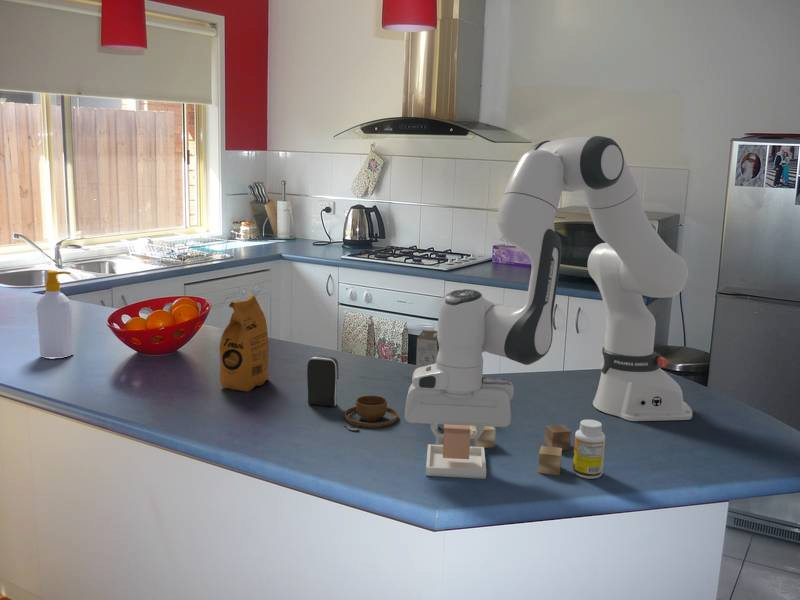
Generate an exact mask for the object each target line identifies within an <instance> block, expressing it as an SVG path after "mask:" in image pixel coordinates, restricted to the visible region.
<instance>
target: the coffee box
mask: <svg viewBox="0 0 800 600" xmlns="http://www.w3.org/2000/svg"><path fill="white" fill-rule="evenodd" d="M437 331H438V330H424V329H423V330H422V331H421V333H420V334H418V336H417V338H416V356H415V358H416V360H415V369H417V368H420V367H423V366H427V365H431V364H435V363H436V359H437V355H438V352H439V343H438V339H437Z"/></svg>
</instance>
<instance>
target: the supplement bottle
mask: <svg viewBox="0 0 800 600" xmlns="http://www.w3.org/2000/svg"><path fill="white" fill-rule="evenodd" d="M579 422H580V425H579V429H577V430H576V431H575V435H574V447H573V460H572V461H573V463H572V471H573V473H574V474H575V475H576V476H578V477H580V478H583V479H589V480H590V479H592V480H593V479H599V478H600V477H602V475H603V472H604V470H603V469H604V460H605V459H604V458H605V448H606V447H605V446H606V435H605V433H604V432H603V431H602V430H603V428H602V427H603V424H602V422H600V421H598V420H595V419H582V420H581V421H579Z"/></svg>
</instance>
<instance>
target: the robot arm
mask: <svg viewBox="0 0 800 600" xmlns="http://www.w3.org/2000/svg"><path fill="white" fill-rule="evenodd" d="M635 182H636V181H635V179H634V176H633V174H632V172H631V169H630V167H629V166H628V164H627V162H626V160H625V158H624V153H623V150H622V149H621V147H620V146H619V144H618V143H617V142H616V141H615V140H614V139H612V138H611V137H606V136H601V135H595V136H570V137H565V138H559V139H554V140H544V141H540V142H538V143H536V144H535V145H533V146H532V147H530V148H529V150H528V151H526V152H525V153H523V155H522V156H521V157H520V158H519V160H518V161H517V163H516V165H515V167H514V169H513V171H512V173H511V175H510V177H509V180H508V181H507V184H506V187H505V190H504V193H503V195H502V198H501V200H500V204H499V206H498V210H497V216H496V217H497V218H496V222H497V223H496V224H497V227H498V229H499V232H500V233H501V235H502V236H503V237H504V238H505V240H506V241H507V242H508V243H510V244H511V245H512V246H514V247H515V248H516V249H518V250H519V251H522V252H523V253H524V254H526V255H527V257H528V258H529V260H530V263H531V264H530V265H531V270H530V271H531V272H530V277H529V284H528V288H527V295H526V302H525V305H524V306H523V307H522V308H517V307H511V306H507V305H504V304H503V305H502V304H500V303H494V302H493V301H490V300H488V299H486V298H484V295H483V294H482V293H481V292H480V291H478V290H474V289H465V288H464V289H457V290H453V291H450V292H448V293H446V294H445V295H444V296H443V298H442V300H441V304H440V308H439V311H438V321H437V330H436V331H437V339H438V343H439V352H438V355H437V359H436V363H435V364H431V365H427V366H423V367H420V368H417V369H416V368H415V369H414V370H413V372H412V378H411V380H412V381H411V382H412V383H411V384H410V386H409V387H408V392H407V396H406V400H405V401H406V402H405V408H404V419H405V420H406V421H407V422H408V423H413V424H414V423H415V424H416V423H417V424H429V425H430V430H431V432H432V434H433V435H434V437H435V445H443V437H444V433H440V432H439V430H438V428H439V425H444V424H450V425H471V426H476V430H477V431H476V432H475V434H474V435H470V447H477V439H478V438H479V437H480V435H481V434H482V433H483V430H484V426H491V427H494V428H496V427H497V428H507V427H508V426H509V425H510V424H511V421H512V412H511V411H512V410H511V400H513V398H514V393H515V388H514V384H513V383H512V382H511V381H510V380H508V379H507V378H504V377H499V378H496V377H495V378H494V377H487V376H485V377H484V357H483V353H488V354H492V355H496V356H499V357H503V358H507V359H509V360H512V361H514V362H517V363H520V364H522V365H525V366H530V365H533V364H534V363H536V362H538V361H540V360H541V359H542V358H544V357H545V355H547V354H548V352H549V351H550V349H551V346H552V343H553V332H554V329H553V327H554V326H553V325H554V323H553V318H554V310H555V302H556V295H557V291H558V290H557V289H558V281H559V275H560V269H561V261H562V260H561V259H562V241H561V237H560V236H559V234H558V233H557V232H556V230H555V219H556V213H557V211H558V207H559V204H560V200H561V196H562V192H571V193H572V192H576V191H582V193H583V197H584V199H585V203H586V206H587V208H588V211H589V214H590V217H591V221H592V223H593V225H594V226H593V227H594V228H595V232H596V234H597V235H598V237H599V238H600V239H601V240H602V243H599V244H596V246H594V247H593V248H592V250H591V251H590V252H589V255H588V259H587V270H588V274H589V276H590V277H591V279H592V280H593V281H594V283H595V284H596V286H597V287H598V290H599V292H600V295H601V299H602V302H603V307H604V312H605V329H604V330H605V331H604V332H605V334H604V335H605V336H604V346H603V347H602V350H601V356H600V372H601V373H600V377H599V382H598V386H597V390H596V392H595V396H594V398H593V401H592V405H593V407H594V408H595V409H597V410H599V411H601V412H603V413H605V414H608V415H611V416H616V417H619V418H621V419H624V420H626V421H629V422H645V421H646V422H650V421H654V422H656V421H689V420H691V419H692V418H693V410H692V408H691V407H690V406H689V404H688V403H686V402H685V401H684V397H683V391H682V388H681V386H680V384H679V383H677V381H676V380H675V379H673V378H672V377H671V376H670V375H669V374H667V372H666V371H664V370H663V369H661V368H665V367H666V366H667V365H668V360H667V359H666V358H665V357H664V356H662V355H661V354H659V353H657V352H655V351H654V347H655V336H656V325H657V323H656V319H655V316H654V315H653V313H651V311H650V310H649V309H648V307H647V306H646V304H645V301H644V298H643V296H645V297H649V298H657V299H659V298H673V297H676V296H677V295H679V294H680V293H681V292H682V290H683V289H684V288H685V286H686V284H687V283H688V282H687V281H688V277H689V269H688V265H687V262H686V260H685V259H684V258H683V257H682V256H680V255H679V254H678V253H676V252H675V251H674V250H673V249H671V248H670V247H669V246H668V244H666V243H665V241H664V240H663V239H662V238H661V236H660V235H659V234H658V232H657V231H656V230H655V228H654V227H653V225H652V224H651V222H650V220H649V218H648V216H647V214H646V212H645V208H644V205H643V203H642V201H641V197H640V195H639V191H638V187H637V185H636V183H635ZM603 241H604V242H603Z"/></svg>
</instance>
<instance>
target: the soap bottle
mask: <svg viewBox="0 0 800 600" xmlns="http://www.w3.org/2000/svg"><path fill="white" fill-rule="evenodd" d="M46 273H47V279H46V281H45V293H44V294H42V296H40V298H39V299H38V301H37V305H36V311H37V312H36V313H37V314H36V315H37V330H38V343H39V356H40V355H41V356H44V357H64V356H69V355H72V354H73V353H74V354H75V344H74V328H73V315H72V313H73V311H72V304H71V301H70V299H69V298H68V296H67V295H65V294H64V293H63V292H61V285H60V281H59V279H58V278H57V276H58V275H64V274H66V275H71V272H69V271H66V270H65V271H64V270H63V271H57V270H48V271H46ZM74 354H73V355H74ZM41 356H40V357H41Z"/></svg>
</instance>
